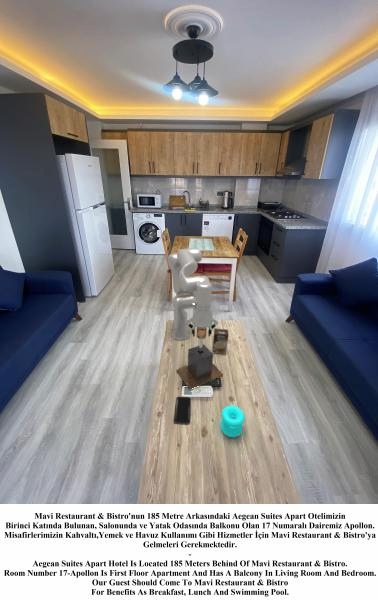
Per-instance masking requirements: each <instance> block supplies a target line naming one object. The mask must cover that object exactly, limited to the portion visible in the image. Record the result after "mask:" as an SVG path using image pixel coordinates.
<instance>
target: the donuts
mask: <svg viewBox="0 0 378 600" xmlns="http://www.w3.org/2000/svg"><path fill="white" fill-rule="evenodd" d="M221 418H222V419H221V421H220V425H219V426H220V430H221V432H222V433H223V434H224V435H226V436H227V437H228V438H229V437H230V438H237V437H239V436H240V435H241V434H242V432H243V430H244V429H243V424H244V422H245V419H246V418H245V413H244V411H243V410H242V409H241V408H240V407H238V406H237V405H228V406H226V407H224V408H223V410H222V411H221Z"/></svg>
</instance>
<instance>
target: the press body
mask: <svg viewBox="0 0 378 600" xmlns="http://www.w3.org/2000/svg"><path fill="white" fill-rule="evenodd" d="M187 352H188V353H187V365H186V366H182V367H180V368H177V369H176V370H175V371H176V374H177V375H178V377H179V378H180V379H181V380H182V382H183V381H184V382H185V383H184V382H183V383H184V384H186V385H187V386H188V387H187V386H186V385H185V386H186V387H187V389H188V388H189V389H192V388H194V387H197V386H199V385H202V384H204V383H206V382H208V381H210V380H213V379H216V378H218V379H220V378H222V377H224V373H222V372H221V370H219V369H218V367H217V366H216V365H215V364H214V363H213V361H214V354H213V353H212V350H211V351H210V349H209V348H208V347H207V346H206V345H205V344H204V343H203V344H202V352H203V353H201V354H200V353H199V345H196V346H194V347H190V348H188V350H187ZM216 380H217V379H216ZM213 381H214V380H213ZM206 384H207V383H206ZM204 385H205V384H204ZM202 386H203V385H202ZM199 387H200V386H199ZM197 388H198V387H197ZM189 389H188V390H189ZM192 390H193V389H192Z"/></svg>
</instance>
